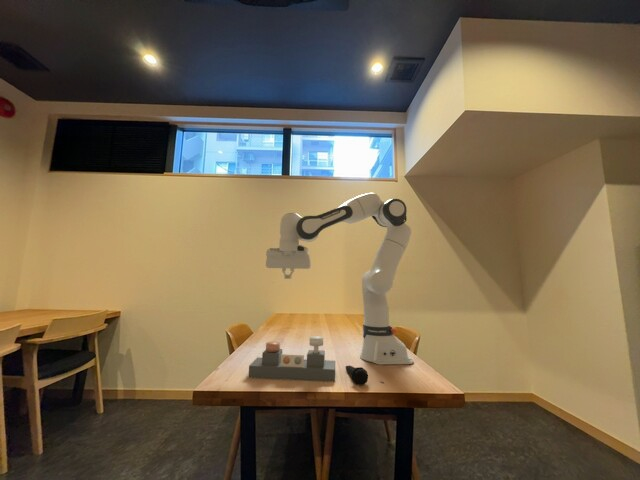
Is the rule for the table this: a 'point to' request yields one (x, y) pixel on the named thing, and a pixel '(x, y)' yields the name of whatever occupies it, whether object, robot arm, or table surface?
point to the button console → (293, 367)
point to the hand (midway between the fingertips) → (287, 278)
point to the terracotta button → (272, 346)
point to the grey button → (316, 343)
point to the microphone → (358, 375)
